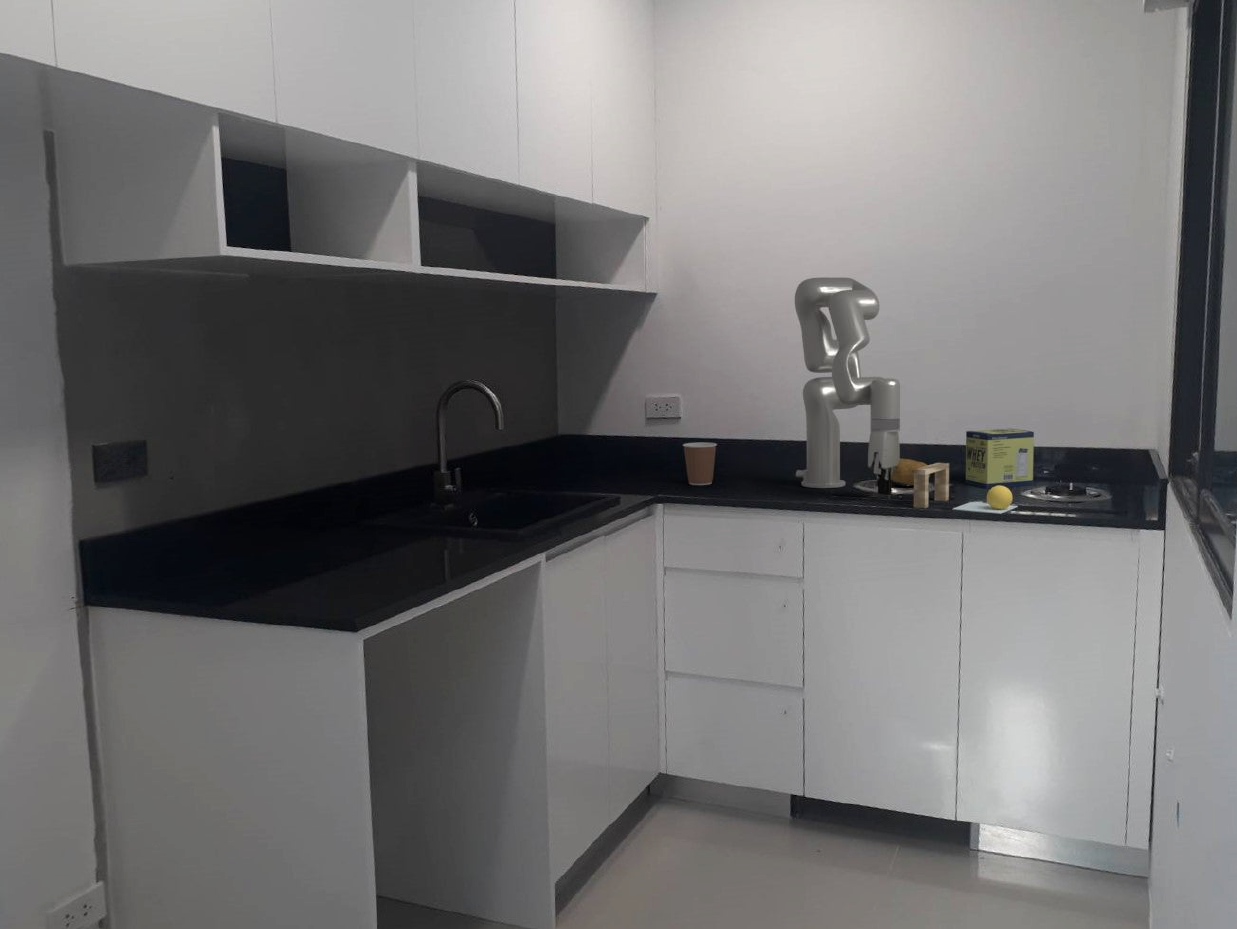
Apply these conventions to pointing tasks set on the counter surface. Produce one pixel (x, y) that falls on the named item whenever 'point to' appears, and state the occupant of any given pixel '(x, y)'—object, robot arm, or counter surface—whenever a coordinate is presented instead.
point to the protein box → (999, 458)
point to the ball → (999, 497)
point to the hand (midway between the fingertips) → (884, 493)
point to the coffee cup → (700, 462)
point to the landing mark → (982, 508)
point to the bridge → (923, 481)
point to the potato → (906, 471)
